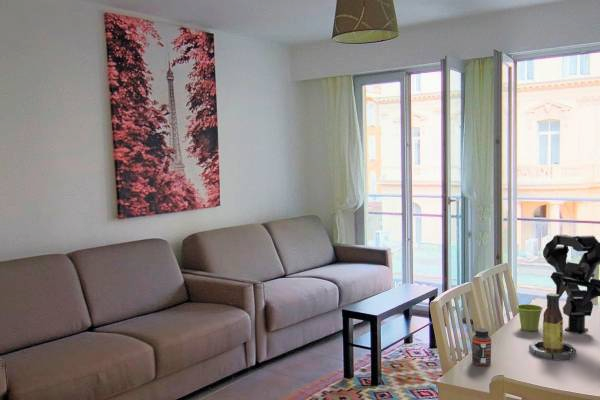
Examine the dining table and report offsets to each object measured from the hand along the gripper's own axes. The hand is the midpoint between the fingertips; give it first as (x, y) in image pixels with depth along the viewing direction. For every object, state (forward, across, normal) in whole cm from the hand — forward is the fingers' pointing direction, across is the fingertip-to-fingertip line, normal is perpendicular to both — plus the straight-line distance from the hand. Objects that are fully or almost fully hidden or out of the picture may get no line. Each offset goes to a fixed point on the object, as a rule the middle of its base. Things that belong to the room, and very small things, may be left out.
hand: (568, 302), depth 206 cm
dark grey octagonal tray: (+19, +1, +3) cm, 19 cm away
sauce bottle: (+19, +1, +3) cm, 19 cm away
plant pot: (+8, -19, +15) cm, 25 cm away
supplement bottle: (+38, -7, -16) cm, 42 cm away
